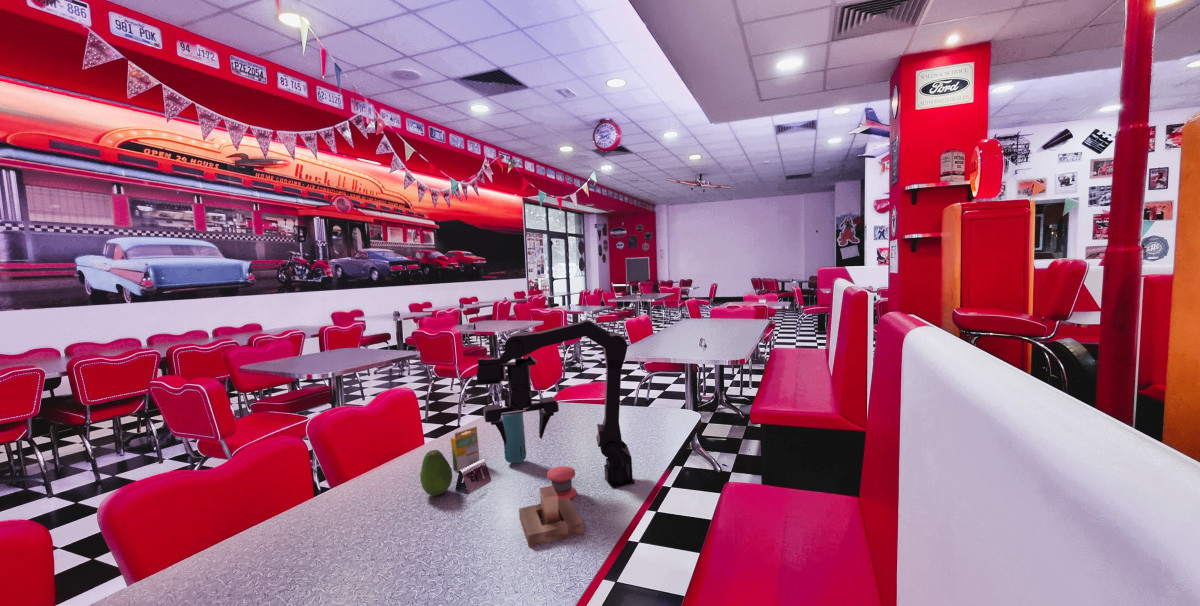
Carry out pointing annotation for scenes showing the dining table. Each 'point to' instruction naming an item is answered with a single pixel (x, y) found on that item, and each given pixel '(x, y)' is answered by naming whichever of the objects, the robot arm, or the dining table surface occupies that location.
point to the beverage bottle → (514, 437)
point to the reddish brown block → (549, 505)
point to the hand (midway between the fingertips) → (523, 441)
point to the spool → (562, 481)
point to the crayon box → (465, 448)
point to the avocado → (435, 473)
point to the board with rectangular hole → (551, 532)
